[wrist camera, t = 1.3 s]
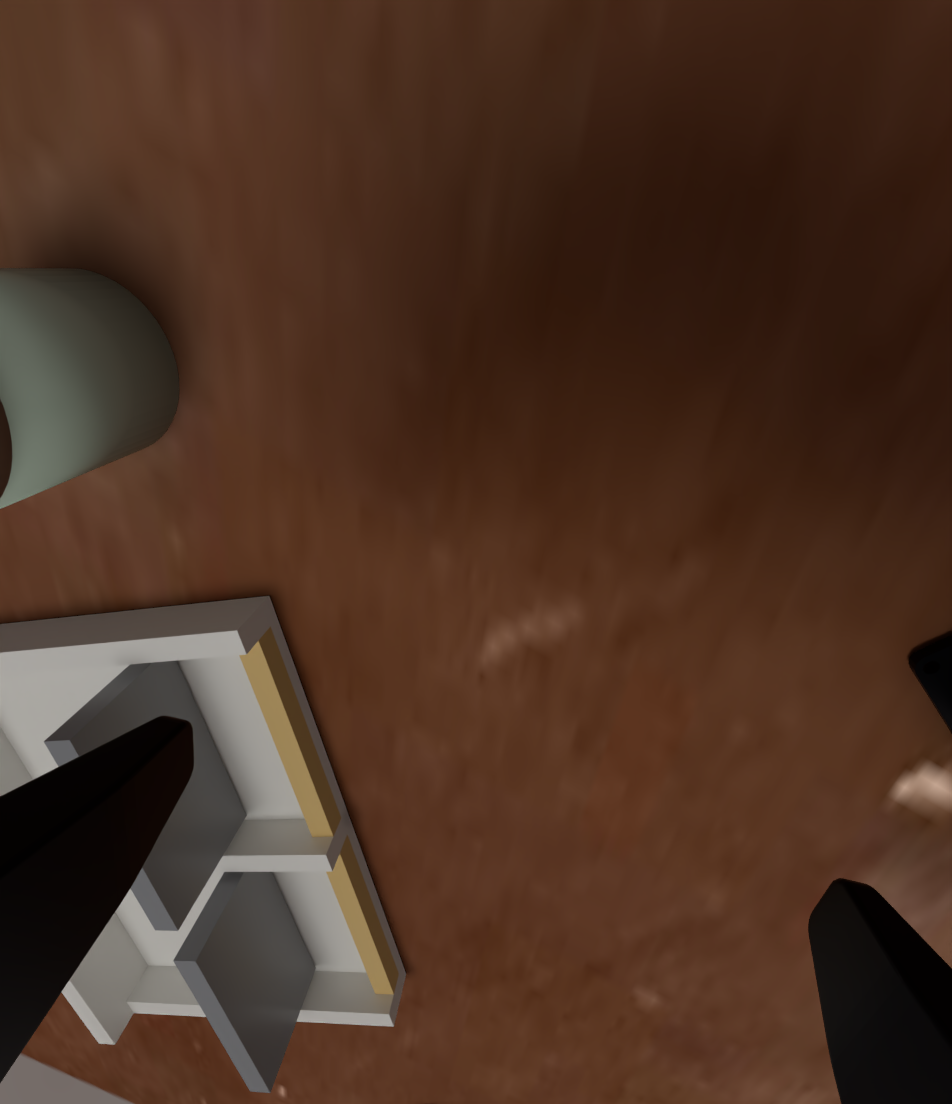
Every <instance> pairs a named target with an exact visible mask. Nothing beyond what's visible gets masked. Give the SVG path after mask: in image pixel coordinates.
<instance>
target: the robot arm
mask: <svg viewBox="0 0 952 1104" xmlns="http://www.w3.org/2000/svg"><path fill="white" fill-rule="evenodd" d="M931 661H933V663H932V664H931V665H930V666H927V667H924V665H925V664H926V663H928V662H931ZM909 666H910V668H911V670H912V671H913V673H914V675H915V676H916V678H917V679H918V681H919V682H920V684H921V686H922V687H923V689H924V690H925V692H926V693H927V695H928V697H929V698H930V700H931V701H932V703H933V705H934V706H935V708H936V709H937V711H938V712H939V714H940V716H941V717H942V719H943V720H944V722H945V724H946V725H947V727H948V728H949V730H950V731H951V733H952V636H949V637H947V638H945V639H943V640H940V641H938V642H936V643H934V644H932V645H929V646H927V647H925V648H923V649H920V650H918V651H917V652H915V653H914V654H913V655H912V656H911V657H910V659H909ZM193 768H194V741H193V726H192V724H191V723H190V722H189V721H187V720H183V719H179V718H175V717H171V716H166V715H164V716H159V717H156V718H154V719H152V720H150V721H148V722H146V723H144V724H142V725H140V726H138V727H136V728H134V729H132V730H130V731H128V732H126V733H124V734H122V735H120V736H119V737H117V738H115V739H113V740H111V741H109V742H107V743H105V744H103V745H101V746H99V747H97V748H95V749H93V750H91V751H89V752H87V753H85V754H83V755H81V756H79V757H77V758H75V759H73V760H71V761H69V762H67V763H65V764H63V765H61V766H59V767H57V768H55V769H53V770H51V771H49V772H47V773H45V774H43V775H41V776H39V777H37V778H35V779H33V780H31V781H29V782H27V783H26V784H24V785H22V786H20V787H18V788H16V789H14V790H12V791H10V792H8V793H6V794H4V795H2V796H0V1083H1V1081H2V1080H3V1078H4V1077H5V1075H6V1074H7V1072H8V1071H9V1069H10V1068H11V1066H12V1065H13V1063H14V1062H15V1060H16V1059H17V1057H18V1056H19V1054H20V1053H21V1052H22V1050H23V1049H24V1047H25V1046H26V1044H27V1043H28V1041H29V1040H30V1038H31V1037H32V1035H33V1034H34V1032H35V1031H36V1029H37V1028H38V1026H39V1025H40V1023H41V1022H42V1020H43V1019H44V1017H45V1016H46V1014H47V1013H48V1011H49V1010H50V1008H51V1007H52V1005H53V1004H54V1002H55V1001H56V999H57V998H58V996H59V995H60V993H61V992H62V990H63V989H64V987H65V986H66V984H67V983H68V981H69V980H70V979H71V977H72V976H73V974H74V973H75V971H76V970H77V968H78V967H79V965H80V964H81V962H82V961H83V959H84V958H85V956H86V955H87V953H88V952H89V950H90V949H91V947H92V946H93V944H94V943H95V941H96V940H97V938H98V937H99V935H100V934H101V932H102V931H103V929H104V928H105V926H106V925H107V923H108V922H109V920H110V919H111V917H112V916H113V914H114V913H115V911H116V910H117V908H118V907H119V906H120V904H121V902H122V901H123V899H124V898H125V896H126V895H127V893H128V892H129V890H130V888H131V887H132V885H133V883H134V882H135V880H136V878H137V876H138V875H139V873H140V871H141V869H142V868H143V866H144V864H145V862H146V860H147V858H148V856H149V855H150V853H151V851H152V849H153V847H154V845H155V843H156V842H157V840H158V838H159V836H160V834H161V832H162V830H163V829H164V827H165V825H166V823H167V821H168V819H169V817H170V816H171V814H172V812H173V810H174V808H175V806H176V805H177V803H178V801H179V799H180V797H181V795H182V793H183V792H184V790H185V788H186V786H187V784H188V782H189V780H190V778H191V775H192V772H193ZM808 931H809V939H810V945H811V951H812V956H813V962H814V968H815V974H816V980H817V986H818V992H819V997H820V1003H821V1009H822V1015H823V1021H824V1027H825V1032H826V1038H827V1044H828V1049H829V1054H830V1059H831V1064H832V1068H833V1072H834V1076H835V1080H836V1084H837V1088H838V1092H839V1096H840V1100H841V1103H842V1104H952V968H951V967H950V966H949V965H948V964H947V963H946V962H945V961H944V960H943V959H942V958H941V957H940V956H939V955H938V954H937V953H936V952H935V951H934V950H933V949H932V948H931V947H930V946H929V945H928V944H927V943H926V941H925V940H924V939H923V938H922V937H921V936H920V935H919V934H918V933H917V932H916V931H915V930H914V929H913V928H912V927H911V926H910V925H909V924H908V923H907V922H906V921H905V920H904V919H903V918H902V917H901V916H900V914H899V913H898V912H897V911H896V910H895V909H894V908H893V907H892V906H891V905H890V904H889V903H888V902H887V901H886V900H885V899H884V898H883V897H882V896H881V895H880V894H879V893H878V892H877V891H876V890H875V889H874V888H872V887H871V886H869V885H867V884H864V883H860V882H856V881H851V880H847V879H843V878H839V879H837V880H834V881H833V882H832V883H831V885H830V886H829V888H828V889H827V890H826V892H825V893H824V895H823V896H822V898H821V899H820V901H819V902H818V904H817V905H816V907H815V908H814V910H813V911H812V913H811V915H810V919H809V925H808Z"/></svg>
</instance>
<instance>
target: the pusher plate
mask: <svg viewBox="0 0 952 1104" xmlns="http://www.w3.org/2000/svg"><path fill="white" fill-rule="evenodd" d="M164 715H166V716H171V717H175V718H179V719H183V720H187V721H189V722H190V723H191V724H192V726H193V741H194V768H193V772H192V775H191V778H190V780H189V782H188V784H187V786H186V788H185V790H184V792H183V793H182V795H181V797H180V799H179V801H178V803H177V805H176V806H175V808H174V810H173V812H172V814H171V816H170V817H169V819H168V821H167V823H166V825H165V827H164V829H163V830H162V832H161V834H160V836H159V838H158V840H157V842H156V843H155V845H154V847H153V849H152V851H151V853H150V855H149V856H148V858H147V860H146V862H145V864H144V866H143V868H142V869H141V871H140V873H139V875H138V876H137V878H136V880H135V882H134V883H133V885H132V887H131V888H130V889H131V890H132V892H133V894H134V895H135V897H136V899H137V900H138V902H139V904H140V906H141V907H142V909H143V911H144V912H145V914H146V916H147V917H148V919H149V921H150V922H151V924H152V926H153V928H154V929H155V930H159V931H178V930H179V929H180V927H181V925H182V924H183V922H184V920H185V919H186V917H187V915H188V914H189V912H190V910H191V908H192V907H193V905H194V903H195V902H196V900H197V898H198V897H199V895H200V893H201V892H202V890H203V888H204V887H205V885H206V883H207V882H208V880H209V878H210V877H211V875H212V873H213V871H214V870H215V868H216V866H217V865H218V863H219V861H220V860H221V858H222V856H223V855H224V853H225V851H226V850H227V848H228V846H229V845H230V843H231V841H232V840H233V838H234V836H235V835H236V833H237V831H238V829H239V828H240V826H241V824H242V823H243V821H244V819H245V818H246V816H247V815H246V812H245V810H244V808H243V806H242V804H241V801H240V799H239V797H238V795H237V792H236V790H235V788H234V786H233V784H232V781H231V779H230V777H229V775H228V773H227V770H226V768H225V766H224V764H223V761H222V759H221V757H220V755H219V753H218V750H217V748H216V746H215V744H214V741H213V739H212V737H211V735H210V733H209V730H208V728H207V726H206V724H205V722H204V719H203V717H202V715H201V713H200V710H199V708H198V706H197V704H196V702H195V699H194V697H193V695H192V693H191V691H190V688H189V686H188V684H187V682H186V679H185V677H184V675H183V673H182V671H181V668H180V666H179V664H178V662H177V660H176V661H164V662H153V663H141V664H130V665H129V666H128V667H127V668H125V669H124V670H123V671H122V672H121V673H120V674H119V675H118V676H116V677H115V678H114V679H113V680H112V681H111V682H110V683H109V684H108V685H106V686H105V687H104V688H103V689H102V690H101V691H100V692H99V693H97V694H96V695H95V696H94V697H93V698H92V699H91V700H90V701H89V702H87V703H86V704H85V705H84V706H83V707H82V708H81V709H80V710H78V711H77V712H76V713H75V714H74V715H73V716H72V717H71V718H70V719H68V720H67V721H66V722H65V723H64V724H63V725H62V726H61V727H59V728H58V729H57V730H56V731H55V732H54V733H53V734H52V735H50V736H49V737H48V738H47V739H46V740H45V741H44V743H45V745H46V746H47V748H48V750H49V752H50V753H51V755H52V757H53V758H54V760H55V762H56V763H57V765H58V767H59V766H61V765H63V764H65V763H67V762H69V761H71V760H73V759H75V758H77V757H79V756H81V755H83V754H85V753H87V752H89V751H91V750H93V749H95V748H97V747H99V746H101V745H103V744H105V743H107V742H109V741H111V740H113V739H115V738H117V737H119V736H120V735H122V734H124V733H126V732H128V731H130V730H132V729H134V728H136V727H138V726H140V725H142V724H144V723H146V722H148V721H150V720H152V719H154V718H156V717H159V716H164Z"/></svg>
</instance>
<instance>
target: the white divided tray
mask: <svg viewBox="0 0 952 1104" xmlns="http://www.w3.org/2000/svg"><path fill="white" fill-rule="evenodd" d="M176 660H177V662H178V664H179V666H180V668H181V671H182V673H183V675H184V677H185V679H186V682H187V684H188V686H189V688H190V691H191V693H192V695H193V697H194V699H195V702H196V704H197V706H198V708H199V710H200V713H201V715H202V717H203V719H204V722H205V724H206V726H207V728H208V730H209V733H210V735H211V737H212V739H213V741H214V744H215V746H216V748H217V750H218V753H219V755H220V757H221V759H222V761H223V764H224V766H225V768H226V770H227V773H228V775H229V777H230V779H231V781H232V784H233V786H234V788H235V790H236V792H237V795H238V797H239V799H240V801H241V804H242V806H243V808H244V810H245V812H246V815H247V816H246V818H245V819H244V821H243V823H242V824H241V826H240V828H239V829H238V831H237V833H236V835H235V836H234V838H233V840H232V841H231V843H230V845H229V846H228V848H227V850H226V851H225V853H224V855H223V856H222V858H221V860H220V861H219V863H218V865H217V866H216V868H215V870H214V871H213V873H212V875H211V877H210V878H209V880H208V882H207V883H206V885H205V887H204V888H203V890H202V892H201V893H200V895H199V897H198V898H197V900H196V902H195V903H194V905H193V907H192V908H191V910H190V912H189V914H188V915H187V917H186V919H185V920H184V922H183V924H182V925H181V927H180V929H179V930H178V931H159V930H155V929H154V928H153V926H152V924H151V922H150V921H149V919H148V917H147V916H146V914H145V912H144V911H143V909H142V907H141V906H140V904H139V902H138V900H137V899H136V897H135V895H134V894H133V892H132V890H131V889H130V890H129V892H128V893H127V895H126V896H125V898H124V899H123V901H122V902H121V904H120V906H119V907H118V908H117V910H116V911H115V913H114V914H113V916H112V917H111V919H110V920H109V922H108V923H107V925H106V926H105V928H104V929H103V931H102V932H101V934H100V935H99V937H98V938H97V940H96V941H95V943H94V944H93V946H92V947H91V949H90V950H89V952H88V953H87V955H86V956H85V958H84V959H83V961H82V962H81V964H80V965H79V967H78V968H77V970H76V971H75V973H74V974H73V976H72V977H71V979H70V980H69V981H68V983H67V984H66V986H65V987H64V989H63V990H62V993H63V995H64V996H65V997H66V999H67V1000H68V1002H69V1003H70V1004H71V1006H72V1007H73V1008H74V1010H75V1011H76V1013H77V1014H78V1015H79V1017H80V1018H81V1019H82V1021H83V1022H84V1024H85V1025H86V1026H87V1028H88V1029H89V1030H90V1032H91V1033H92V1035H93V1036H94V1037H95V1039H96V1040H97V1042H98V1043H99V1044H116V1042H117V1040H118V1039H119V1037H120V1035H121V1034H122V1032H123V1030H124V1029H125V1027H126V1025H127V1024H128V1022H129V1020H130V1018H131V1017H132V1015H133V1013H143V1014H162V1015H181V1016H200V1017H207V1019H208V1021H209V1022H210V1024H211V1026H212V1027H213V1029H214V1031H215V1032H216V1034H217V1036H218V1037H219V1039H220V1041H221V1043H222V1044H223V1046H224V1048H225V1049H226V1051H227V1053H228V1054H229V1056H230V1058H231V1059H232V1061H233V1063H234V1065H235V1066H236V1068H237V1070H238V1071H239V1073H240V1075H241V1076H242V1078H243V1080H244V1081H245V1083H246V1085H247V1087H248V1088H249V1090H250V1091H253V1092H266V1093H270V1092H271V1090H272V1087H273V1084H274V1081H275V1079H276V1076H277V1073H278V1071H279V1068H280V1065H281V1062H282V1060H283V1057H284V1054H285V1051H286V1049H287V1046H288V1043H289V1040H290V1038H291V1035H292V1032H293V1030H294V1027H295V1024H296V1021H297V1022H316V1023H335V1024H354V1025H374V1026H393V1027H394V1024H395V1020H396V1015H397V1011H398V1007H399V1003H400V998H401V994H402V990H403V985H404V981H405V977H406V972H405V969H404V967H403V964H402V961H401V958H400V955H399V953H398V950H397V947H396V944H395V942H394V939H393V936H392V933H391V931H390V928H389V925H388V922H387V920H386V917H385V914H384V911H383V909H382V906H381V903H380V900H379V897H378V895H377V892H376V889H375V886H374V884H373V881H372V878H371V875H370V873H369V870H368V867H367V864H366V862H365V859H364V856H363V853H362V851H361V848H360V845H359V842H358V839H357V837H356V834H355V831H354V828H353V826H352V823H351V820H350V817H349V815H348V812H347V809H346V806H345V804H344V801H343V798H342V795H341V793H340V790H339V787H338V784H337V781H336V779H335V776H334V773H333V770H332V768H331V765H330V762H329V759H328V757H327V754H326V751H325V748H324V746H323V743H322V740H321V737H320V734H319V732H318V729H317V726H316V723H315V721H314V718H313V715H312V712H311V710H310V707H309V704H308V701H307V699H306V696H305V693H304V690H303V688H302V685H301V682H300V679H299V676H298V674H297V671H296V668H295V665H294V663H293V660H292V657H291V654H290V652H289V649H288V646H287V643H286V641H285V638H284V635H283V632H282V630H281V627H280V624H279V621H278V618H277V616H276V613H275V610H274V607H273V605H272V602H271V599H270V596H262V597H253V598H243V599H234V600H224V601H215V602H205V603H196V604H186V605H177V606H168V607H158V608H149V609H139V610H130V611H120V612H111V613H101V614H92V615H82V616H73V617H63V618H54V619H44V620H35V621H25V622H16V623H6V624H0V796H2V795H4V794H6V793H8V792H10V791H12V790H14V789H16V788H18V787H20V786H22V785H24V784H26V783H27V782H29V781H31V780H33V779H35V778H37V777H39V776H41V775H43V774H45V773H47V772H49V771H51V770H53V769H55V768H57V767H58V765H57V763H56V762H55V760H54V758H53V757H52V755H51V753H50V752H49V750H48V748H47V746H46V745H45V743H44V741H45V740H46V739H47V738H48V737H49V736H50V735H52V734H53V733H54V732H55V731H56V730H57V729H58V728H59V727H61V726H62V725H63V724H64V723H65V722H66V721H67V720H68V719H70V718H71V717H72V716H73V715H74V714H75V713H76V712H77V711H78V710H80V709H81V708H82V707H83V706H84V705H85V704H86V703H87V702H89V701H90V700H91V699H92V698H93V697H94V696H95V695H96V694H97V693H99V692H100V691H101V690H102V689H103V688H104V687H105V686H106V685H108V684H109V683H110V682H111V681H112V680H113V679H114V678H115V677H116V676H118V675H119V674H120V673H121V672H122V671H123V670H124V669H125V668H127V667H128V666H129V665H130V664H141V663H153V662H164V661H176Z"/></svg>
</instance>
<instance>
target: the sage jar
mask: <svg viewBox="0 0 952 1104" xmlns="http://www.w3.org/2000/svg"><path fill="white" fill-rule="evenodd" d="M178 400H179V376H178V370H177V365H176V361H175V358H174V354H173V351H172V349H171V346H170V344H169V341H168V339H167V338H166V336H165V334H164V332H163V330H162V328H161V327H160V325H159V324H158V322H157V321H156V319H155V318H154V316H153V315H152V314H151V313H150V311H149V310H148V309H147V308H146V306H145V305H144V304H143V303H142V302H141V301H140V300H139V299H138V298H137V297H135V296H134V295H133V294H132V293H131V292H129V291H128V290H127V289H126V288H124V287H123V286H121V285H120V284H118V283H117V282H115V281H113V280H111V279H109V278H107V277H105V276H103V275H101V274H98V273H95V272H92V271H88V270H83V269H75V268H0V509H1V508H3V507H6V506H8V505H10V504H13V503H15V502H18V501H20V500H22V499H25V498H27V497H30V496H32V495H34V494H37V493H39V492H42V491H44V490H46V489H49V488H51V487H53V486H56V485H58V484H61V483H63V482H65V481H68V480H70V479H73V478H75V477H77V476H80V475H82V474H84V473H87V472H89V471H92V470H94V469H96V468H99V467H101V466H104V465H106V464H108V463H111V462H113V461H116V460H118V459H120V458H123V457H125V456H127V455H130V454H132V453H135V452H137V451H139V450H142V449H144V448H146V447H148V446H150V445H152V444H153V443H155V442H156V441H157V440H158V439H159V438H161V437H162V436H163V434H164V433H165V432H166V431H167V430H168V428H169V426H170V424H171V423H172V421H173V418H174V416H175V413H176V410H177V405H178Z"/></svg>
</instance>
